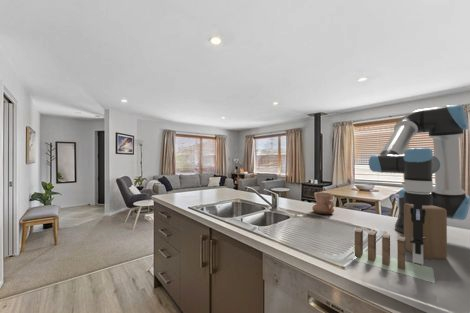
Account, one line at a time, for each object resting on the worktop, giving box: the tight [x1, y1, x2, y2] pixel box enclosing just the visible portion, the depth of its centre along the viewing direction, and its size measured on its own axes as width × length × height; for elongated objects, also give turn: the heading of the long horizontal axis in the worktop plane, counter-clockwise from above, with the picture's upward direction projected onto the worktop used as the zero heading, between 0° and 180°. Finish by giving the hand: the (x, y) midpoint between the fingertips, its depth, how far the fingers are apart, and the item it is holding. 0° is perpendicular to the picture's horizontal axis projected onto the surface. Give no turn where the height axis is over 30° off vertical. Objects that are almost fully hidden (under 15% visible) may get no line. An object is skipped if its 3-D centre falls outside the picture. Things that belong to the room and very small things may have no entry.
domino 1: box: [367, 230, 377, 262], centre depth 82 cm, size 5×2×10 cm, turn 139°
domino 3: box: [396, 235, 406, 270], centre depth 76 cm, size 5×2×10 cm, turn 139°
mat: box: [347, 247, 436, 284], centre depth 79 cm, size 12×26×1 cm, turn 49°
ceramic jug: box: [312, 191, 335, 215], centre depth 152 cm, size 18×14×14 cm
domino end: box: [354, 227, 364, 258], centre depth 85 cm, size 5×2×10 cm, turn 139°
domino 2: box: [381, 232, 391, 266], centre depth 79 cm, size 5×2×10 cm, turn 139°
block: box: [403, 203, 448, 260], centre depth 87 cm, size 10×10×20 cm
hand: (417, 259), depth 73 cm, fingers closed on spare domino, 5 cm apart
